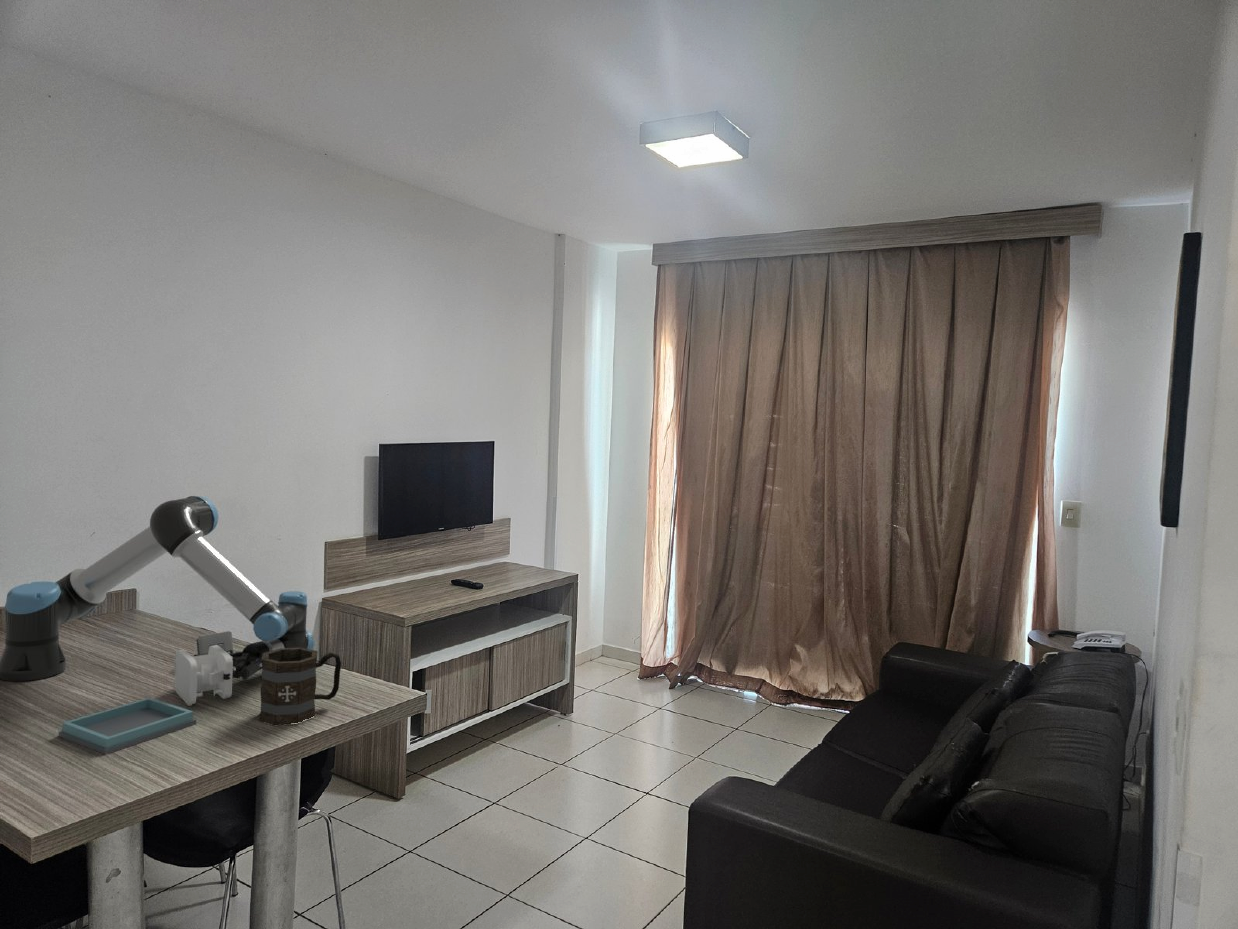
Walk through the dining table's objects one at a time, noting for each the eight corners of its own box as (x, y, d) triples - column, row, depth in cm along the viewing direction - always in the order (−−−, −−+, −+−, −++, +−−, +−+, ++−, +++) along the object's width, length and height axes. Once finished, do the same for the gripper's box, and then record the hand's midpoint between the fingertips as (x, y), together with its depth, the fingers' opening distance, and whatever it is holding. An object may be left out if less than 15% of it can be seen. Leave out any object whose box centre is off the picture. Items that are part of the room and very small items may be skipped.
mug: (268, 730, 189) (271, 667, 189) (249, 712, 199) (252, 652, 199) (350, 713, 202) (352, 654, 202) (328, 697, 213) (330, 641, 212)
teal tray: (58, 736, 179) (58, 723, 179) (150, 708, 198) (150, 696, 198) (105, 754, 172) (105, 740, 171) (196, 723, 190) (196, 711, 190)
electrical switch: (201, 670, 228) (201, 637, 228) (193, 667, 231) (193, 635, 231) (235, 663, 235) (234, 631, 235) (226, 661, 238) (226, 629, 238)
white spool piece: (172, 692, 210) (173, 647, 209) (216, 684, 217) (217, 642, 216) (188, 709, 199) (190, 663, 198) (234, 701, 206) (235, 656, 205)
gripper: (294, 677, 218) (225, 699, 199) (231, 659, 229) (160, 679, 210) (295, 649, 218) (226, 669, 199) (232, 633, 229) (161, 650, 210)
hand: (192, 674), depth 205 cm, fingers open, 13 cm apart
